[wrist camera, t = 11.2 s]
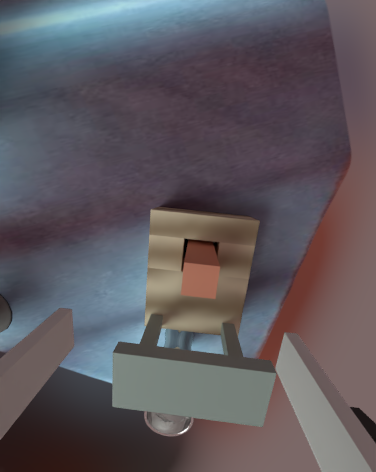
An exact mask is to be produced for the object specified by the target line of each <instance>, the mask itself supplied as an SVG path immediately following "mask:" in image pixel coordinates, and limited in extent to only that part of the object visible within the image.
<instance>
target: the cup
mask: <svg viewBox="0 0 376 472" xmlns="http://www.w3.org/2000/svg"><path fill="white" fill-rule="evenodd" d="M11 315H12V312H11V309H10V307H9V305H8V303H7V301H6V300H5V299H4V298H3V297H2V296H1V295H0V332H2V331H4V330H5V329H7V328H8V326H9V324H10V322H11Z"/></svg>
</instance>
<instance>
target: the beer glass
mask: <svg viewBox="0 0 376 472" xmlns="http://www.w3.org/2000/svg"><path fill="white" fill-rule="evenodd" d="M193 338H194V332H189V331H181V330H173V329H166V330H165V344H164V347H166V348H174V349H182V350H190V351H191V346H192V342H193ZM144 417H145V421H146V423H147V425H148V426H149V427H150V428H151V429H152V430H153V431H155V432H156V433H158V434H161V435H165V436H178V435H181V434H183V433H185V432H187V431H188V430H189V429H190V428H191V426H192V424H193V417H185V416H178V415H170V414H163V413H156V412H148V411H145V412H144Z"/></svg>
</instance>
